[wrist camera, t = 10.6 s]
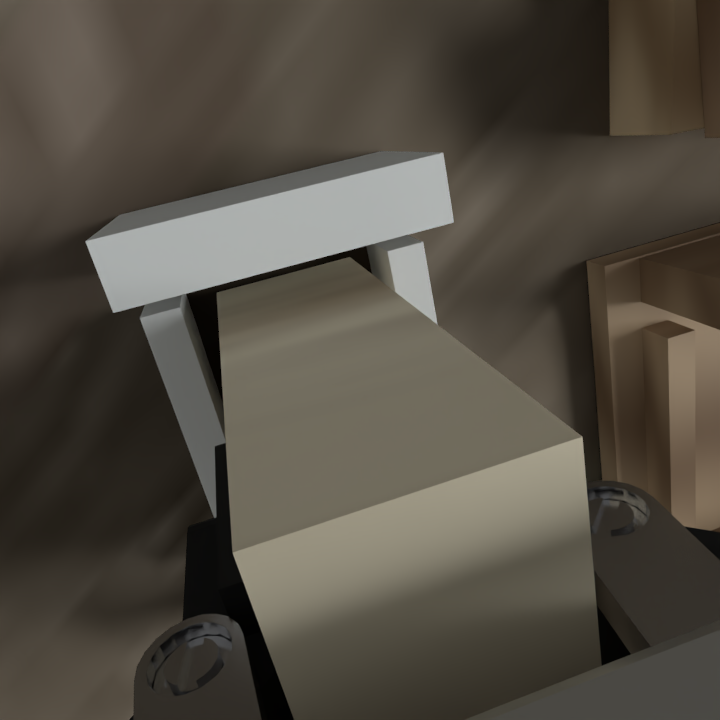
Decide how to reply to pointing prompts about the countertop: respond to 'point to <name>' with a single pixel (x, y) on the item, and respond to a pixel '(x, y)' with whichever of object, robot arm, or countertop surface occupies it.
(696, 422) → the frame
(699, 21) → the offcut
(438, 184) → the holder
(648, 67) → the offcut
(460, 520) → the block
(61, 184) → the countertop surface
